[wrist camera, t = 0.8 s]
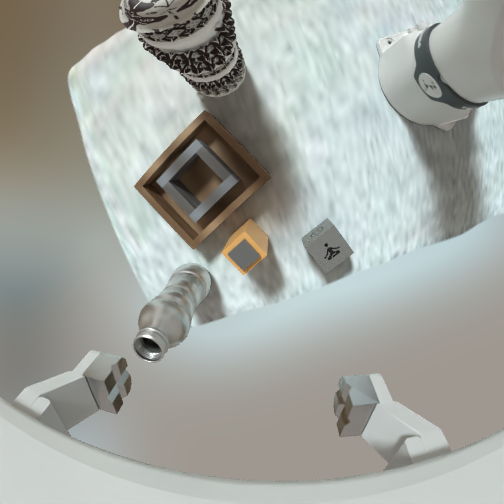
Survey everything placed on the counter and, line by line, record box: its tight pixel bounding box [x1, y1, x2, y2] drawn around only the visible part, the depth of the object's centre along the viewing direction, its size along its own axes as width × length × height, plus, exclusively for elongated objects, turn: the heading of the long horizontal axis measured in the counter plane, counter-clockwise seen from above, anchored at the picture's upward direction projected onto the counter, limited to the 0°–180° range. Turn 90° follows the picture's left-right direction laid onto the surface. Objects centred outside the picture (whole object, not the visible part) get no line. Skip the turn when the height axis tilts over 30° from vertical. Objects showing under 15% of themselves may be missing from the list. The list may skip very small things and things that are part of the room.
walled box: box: [134, 110, 271, 250], centre depth 38 cm, size 15×13×5 cm
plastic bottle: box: [133, 263, 211, 363], centre depth 36 cm, size 6×7×20 cm
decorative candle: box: [119, 0, 246, 97], centre depth 24 cm, size 9×9×25 cm
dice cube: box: [302, 218, 354, 274], centre depth 40 cm, size 5×5×5 cm
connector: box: [221, 218, 268, 275], centre depth 38 cm, size 4×4×10 cm
